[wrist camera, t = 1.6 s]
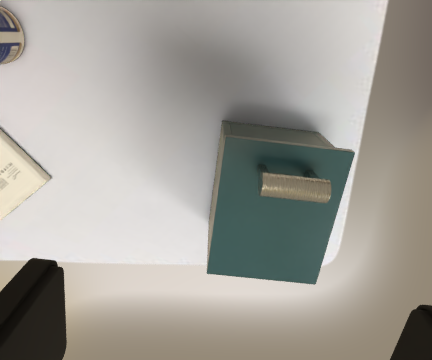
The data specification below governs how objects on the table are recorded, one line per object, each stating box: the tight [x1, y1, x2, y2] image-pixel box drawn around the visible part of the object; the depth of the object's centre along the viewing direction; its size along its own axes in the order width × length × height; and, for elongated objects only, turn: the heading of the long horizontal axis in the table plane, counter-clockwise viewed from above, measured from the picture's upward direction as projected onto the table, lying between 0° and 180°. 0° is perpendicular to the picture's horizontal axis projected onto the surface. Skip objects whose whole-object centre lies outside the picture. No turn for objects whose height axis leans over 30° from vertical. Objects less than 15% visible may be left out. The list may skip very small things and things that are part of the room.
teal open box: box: [207, 121, 335, 265], centre depth 35 cm, size 13×11×9 cm
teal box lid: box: [207, 135, 355, 284], centre depth 28 cm, size 14×11×5 cm
